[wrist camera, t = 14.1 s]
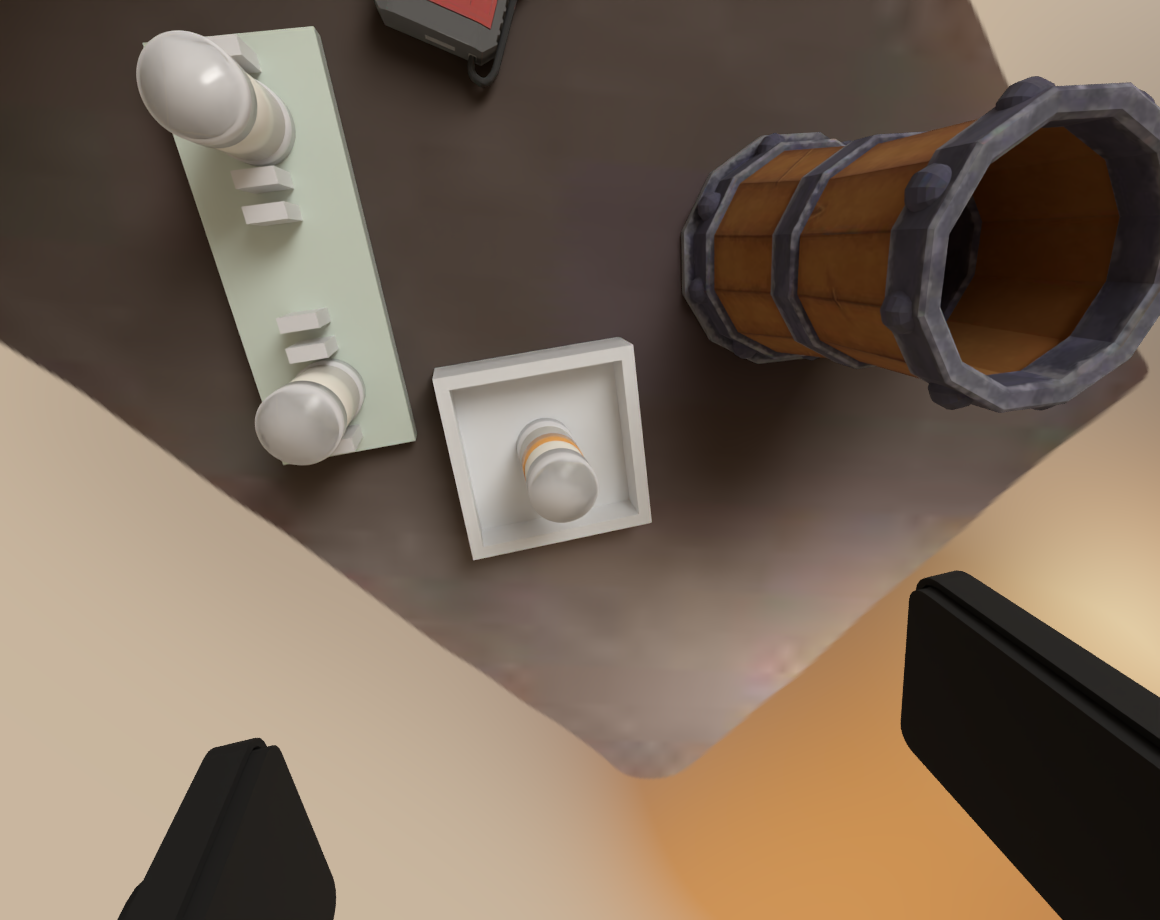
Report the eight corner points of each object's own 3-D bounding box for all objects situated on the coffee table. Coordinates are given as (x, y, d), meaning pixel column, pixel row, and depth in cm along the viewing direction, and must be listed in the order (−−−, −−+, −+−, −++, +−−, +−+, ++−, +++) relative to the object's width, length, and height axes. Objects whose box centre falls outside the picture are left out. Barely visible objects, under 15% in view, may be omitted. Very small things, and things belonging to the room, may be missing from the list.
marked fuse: (511, 423, 39) (523, 464, 32) (568, 413, 40) (593, 451, 32) (521, 477, 41) (535, 529, 33) (577, 466, 41) (602, 515, 34)
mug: (935, 70, 38) (1393, -100, 19) (958, 295, 43) (1333, 331, 25) (650, 177, 37) (843, 107, 18) (709, 394, 42) (905, 510, 24)
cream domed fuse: (203, 87, 30) (119, 35, 23) (282, 79, 31) (226, 25, 23) (229, 171, 32) (158, 148, 24) (305, 161, 32) (257, 136, 25)
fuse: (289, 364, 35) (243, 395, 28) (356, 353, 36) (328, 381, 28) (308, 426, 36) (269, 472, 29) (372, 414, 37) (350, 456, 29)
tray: (434, 368, 38) (432, 379, 35) (619, 336, 40) (632, 344, 36) (472, 536, 42) (473, 560, 39) (637, 502, 44) (651, 522, 41)
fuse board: (157, 52, 31) (109, 21, 26) (320, 36, 32) (298, 3, 27) (289, 457, 38) (268, 482, 34) (417, 433, 39) (412, 456, 35)
